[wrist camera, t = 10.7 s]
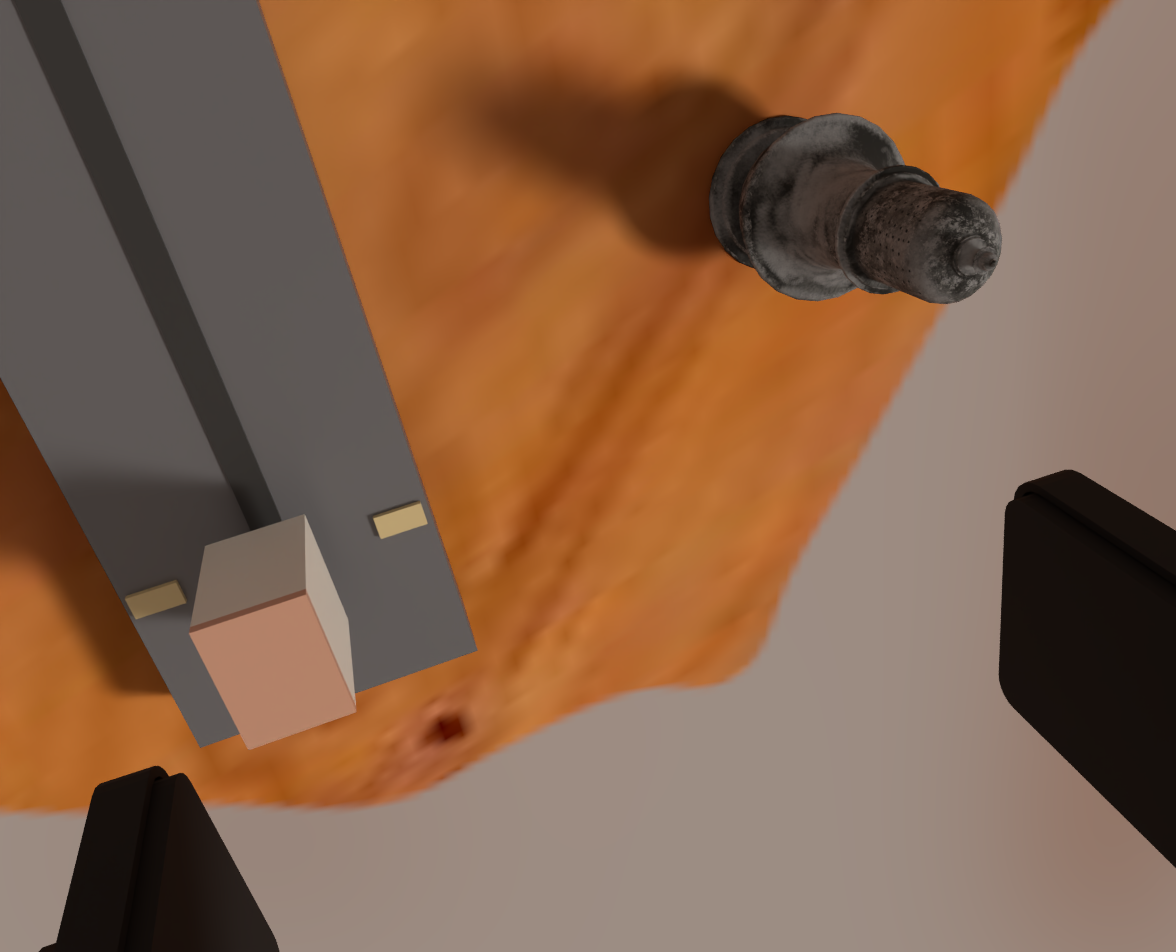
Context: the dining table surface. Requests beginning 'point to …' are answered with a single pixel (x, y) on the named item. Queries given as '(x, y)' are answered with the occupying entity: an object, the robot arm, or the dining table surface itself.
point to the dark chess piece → (847, 214)
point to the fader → (273, 632)
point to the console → (200, 330)
